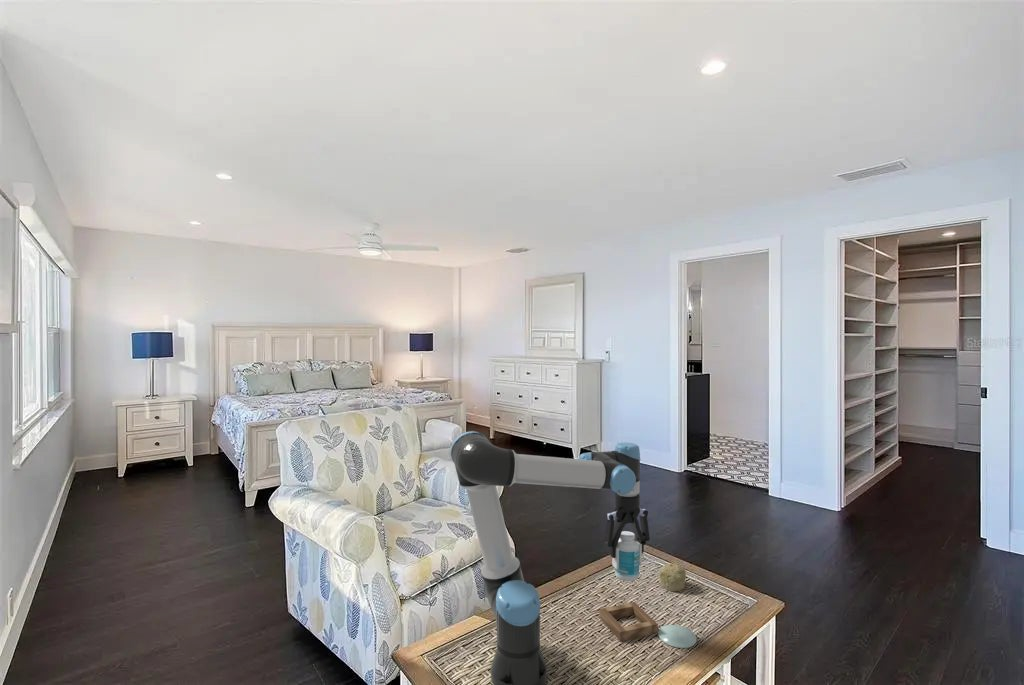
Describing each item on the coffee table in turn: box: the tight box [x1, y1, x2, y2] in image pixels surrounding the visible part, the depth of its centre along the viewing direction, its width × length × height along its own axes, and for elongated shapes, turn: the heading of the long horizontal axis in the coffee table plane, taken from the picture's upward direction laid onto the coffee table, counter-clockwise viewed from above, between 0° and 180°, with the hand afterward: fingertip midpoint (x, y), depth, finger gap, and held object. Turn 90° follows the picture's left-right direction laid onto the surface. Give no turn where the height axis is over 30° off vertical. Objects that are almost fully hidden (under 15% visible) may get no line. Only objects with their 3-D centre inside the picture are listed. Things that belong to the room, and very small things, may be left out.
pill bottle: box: [614, 530, 640, 582], centre depth 158 cm, size 8×7×14 cm
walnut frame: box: [598, 601, 659, 642], centre depth 158 cm, size 13×13×3 cm
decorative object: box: [658, 562, 687, 593], centre depth 182 cm, size 9×10×10 cm
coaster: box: [657, 624, 697, 649], centre depth 152 cm, size 11×11×1 cm
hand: (626, 565), depth 158 cm, fingers closed on pill bottle, 7 cm apart
